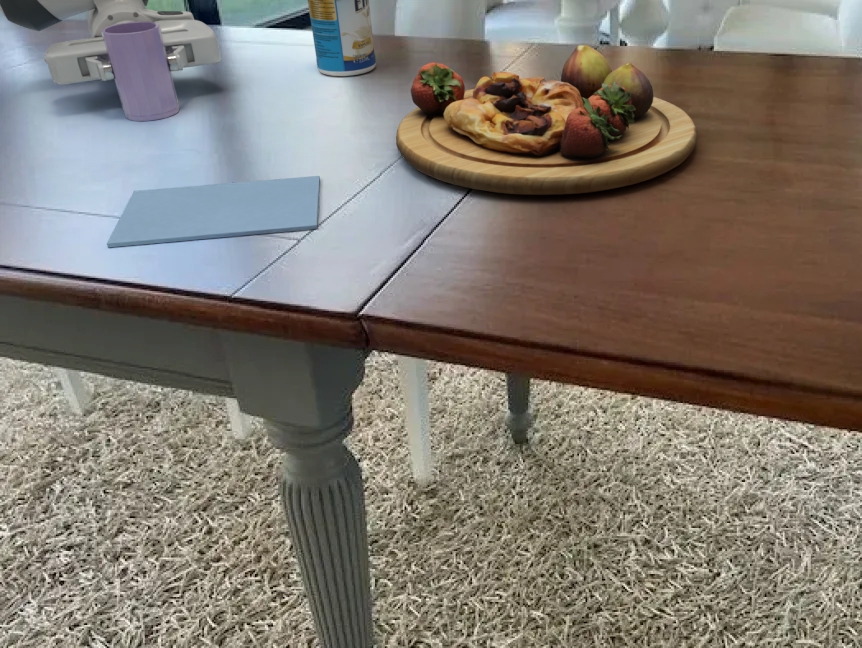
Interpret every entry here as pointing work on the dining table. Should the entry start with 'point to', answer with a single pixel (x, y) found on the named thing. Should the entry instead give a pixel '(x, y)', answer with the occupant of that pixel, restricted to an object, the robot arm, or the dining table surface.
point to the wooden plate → (544, 129)
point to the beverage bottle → (342, 36)
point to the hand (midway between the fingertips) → (141, 68)
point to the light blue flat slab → (218, 211)
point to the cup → (141, 70)
